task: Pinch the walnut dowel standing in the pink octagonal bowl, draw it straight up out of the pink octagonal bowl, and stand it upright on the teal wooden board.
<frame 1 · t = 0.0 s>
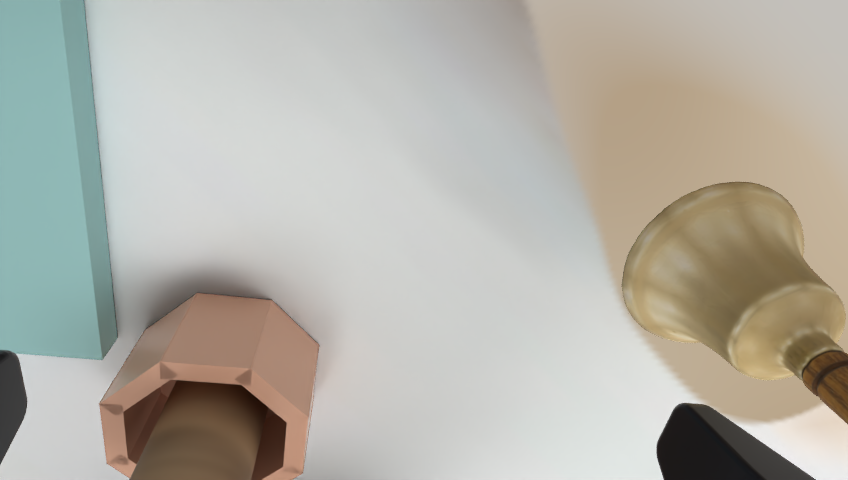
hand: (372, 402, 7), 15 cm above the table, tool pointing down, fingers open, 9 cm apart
pink octagonal bowl: (233, 364, 25), on the table
dowel: (229, 376, 24), point 1 cm above the table, touching pink octagonal bowl
hand bell: (707, 263, 25), on the table
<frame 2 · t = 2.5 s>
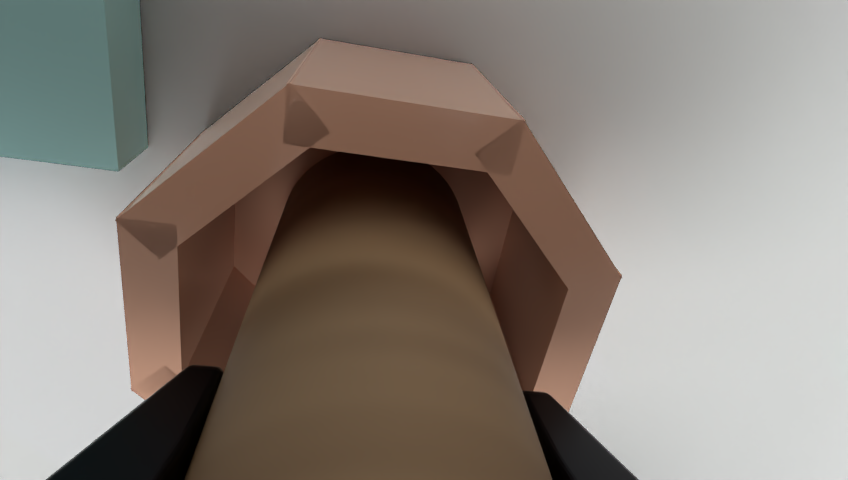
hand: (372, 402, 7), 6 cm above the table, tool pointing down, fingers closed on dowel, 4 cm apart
pink octagonal bowl: (373, 217, 13), on the table
dowel: (373, 232, 12), point 1 cm above the table, touching pink octagonal bowl, gripper
when the fingers open (8 cm above the table, at t = 7.2 s): dowel drops 1 cm, resting on board.
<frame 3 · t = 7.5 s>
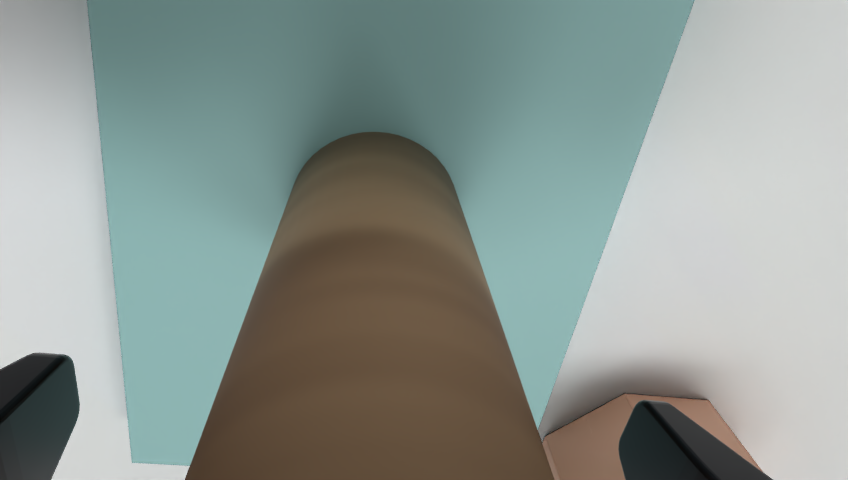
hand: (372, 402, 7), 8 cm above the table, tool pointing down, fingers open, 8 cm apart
board: (372, 190, 14), on the table
pink octagonal bowl: (629, 472, 20), on the table
dowel: (375, 213, 13), point 1 cm above the table, touching board
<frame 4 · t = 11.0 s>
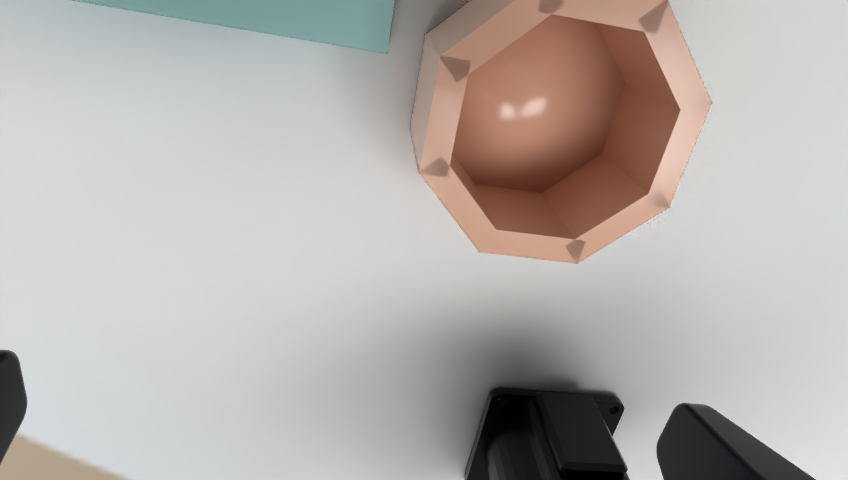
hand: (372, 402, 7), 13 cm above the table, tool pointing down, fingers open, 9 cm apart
pink octagonal bowl: (524, 100, 19), on the table
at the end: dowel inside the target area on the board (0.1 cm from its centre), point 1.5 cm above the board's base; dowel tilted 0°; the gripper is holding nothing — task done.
